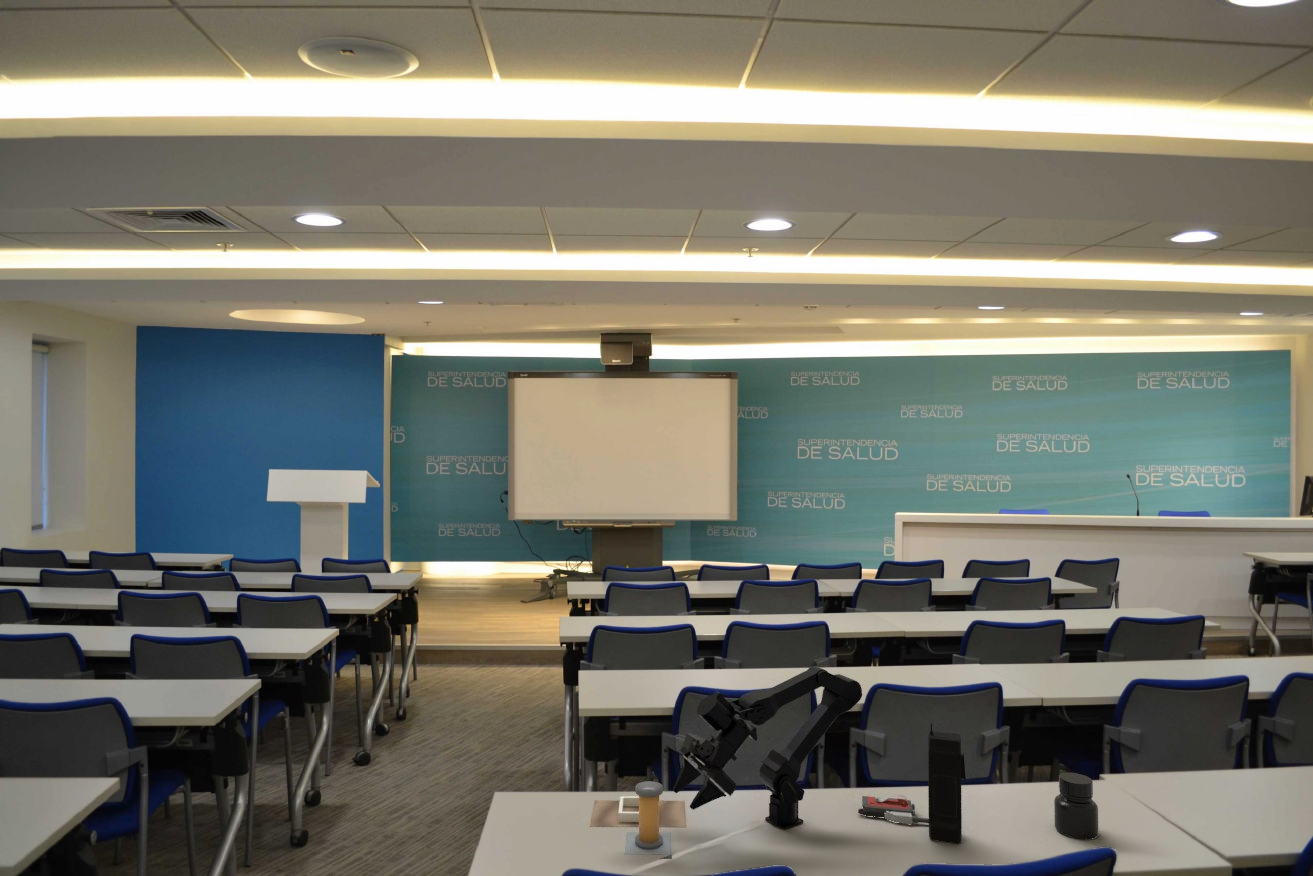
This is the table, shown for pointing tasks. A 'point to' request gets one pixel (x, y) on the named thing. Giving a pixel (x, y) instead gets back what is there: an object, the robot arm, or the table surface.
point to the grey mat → (664, 849)
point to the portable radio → (945, 786)
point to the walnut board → (608, 811)
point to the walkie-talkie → (891, 809)
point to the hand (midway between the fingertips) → (682, 800)
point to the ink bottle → (1076, 807)
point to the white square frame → (628, 815)
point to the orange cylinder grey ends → (649, 815)
